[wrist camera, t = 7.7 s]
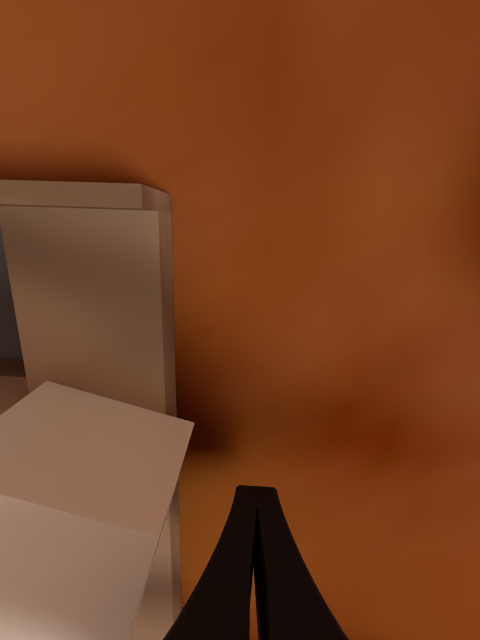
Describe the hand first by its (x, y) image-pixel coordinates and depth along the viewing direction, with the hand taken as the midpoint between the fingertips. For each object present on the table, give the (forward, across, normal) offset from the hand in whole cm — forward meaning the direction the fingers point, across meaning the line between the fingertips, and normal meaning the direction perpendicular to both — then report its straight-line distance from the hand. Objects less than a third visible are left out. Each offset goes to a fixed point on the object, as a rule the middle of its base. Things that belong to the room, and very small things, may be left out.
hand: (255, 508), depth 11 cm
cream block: (+1, +6, -1) cm, 6 cm away
